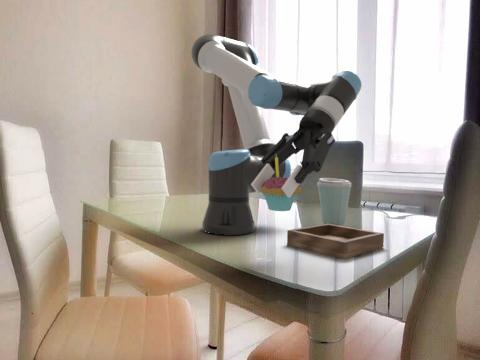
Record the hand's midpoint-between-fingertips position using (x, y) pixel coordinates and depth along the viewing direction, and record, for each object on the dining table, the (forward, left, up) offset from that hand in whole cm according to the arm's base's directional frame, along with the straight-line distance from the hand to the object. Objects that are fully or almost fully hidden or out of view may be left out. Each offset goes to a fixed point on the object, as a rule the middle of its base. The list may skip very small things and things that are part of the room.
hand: (269, 190), depth 74 cm
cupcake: (0, +3, -4) cm, 6 cm away
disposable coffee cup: (-14, +42, -14) cm, 47 cm away
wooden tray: (+3, +19, -14) cm, 24 cm away
